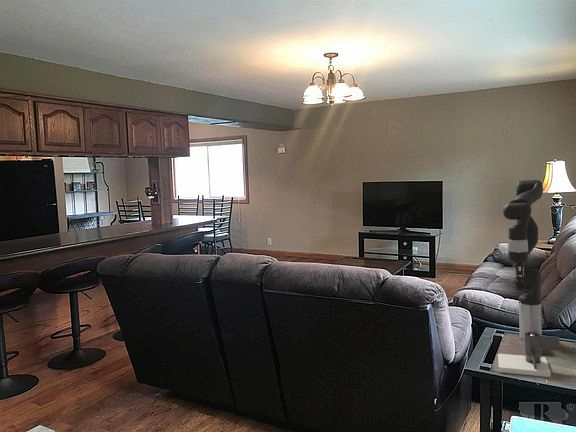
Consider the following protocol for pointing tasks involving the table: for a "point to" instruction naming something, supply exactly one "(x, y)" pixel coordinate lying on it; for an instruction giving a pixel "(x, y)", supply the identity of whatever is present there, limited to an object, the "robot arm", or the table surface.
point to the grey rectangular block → (541, 342)
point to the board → (522, 365)
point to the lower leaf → (533, 356)
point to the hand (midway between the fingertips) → (518, 287)
